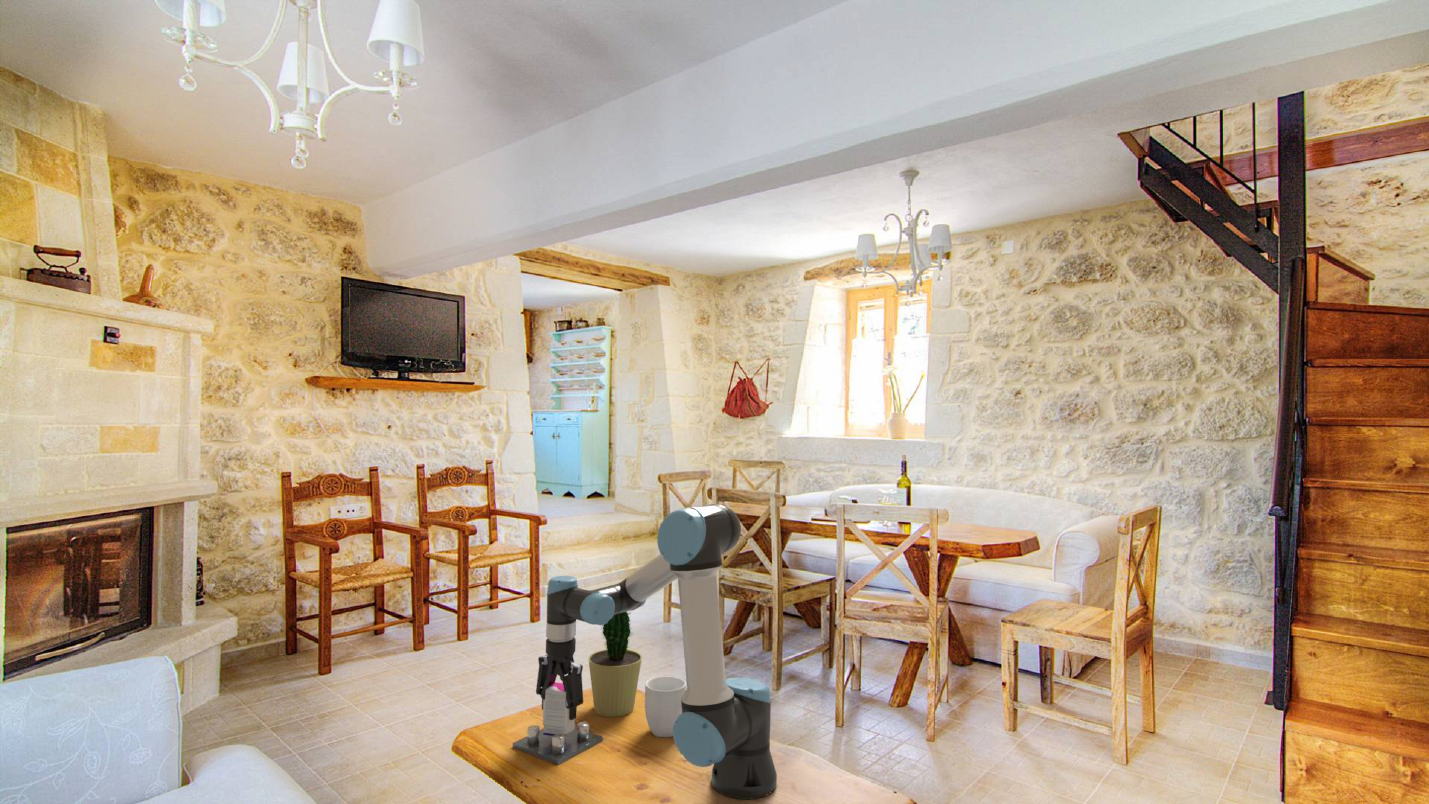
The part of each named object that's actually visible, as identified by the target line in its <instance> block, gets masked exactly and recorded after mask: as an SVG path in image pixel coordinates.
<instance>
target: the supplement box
mask: <svg viewBox="0 0 1429 804" xmlns="http://www.w3.org/2000/svg"><path fill="white" fill-rule="evenodd" d="M572 701H573V700H572ZM566 706H568V703H567V699H566V692H565V690H564V686H563V682H556V681H555V683H554V684H552V685H551V686H550V687H549V688H547V689H546V693H545V713H544V725H543V728H544V731H543V735H547V736H554V735H556V734H562V735H564V736H565V735H566V733H565V707H566Z"/></svg>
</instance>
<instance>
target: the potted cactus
mask: <svg viewBox="0 0 1429 804" xmlns="http://www.w3.org/2000/svg"><path fill="white" fill-rule="evenodd" d="M630 614H632V612H631V611H630V612H629V611H626V612H623V613H620V614H616V615H613V617H612V618H611V619H610V620H609V621H608V623H606V624H604V625H599V626H600V627H601V628H602V629H601V632H600V633H601V634H600V635H602V639H604V642H603V644H604V648H606V649H602V650H598V651H595V652H593V653H591V654H590V655H588V658H587V661H588V666H589V675H590V683H591V692H592V701H593V702H592V703H593V708H594V709H593V710H594V713H596V714H598V715H600V716H602V717H607V718H610V717H611V718H615V717H617V718H618V717H623V716H627V715H628V714H631V713H632V712H633V711H634V709H635V702H636V697H637V689H638V683H639V676H640V670H641V666H642V658H643V657H642V654H641V653H639V652H638V651H635V650H630V646H629V641H630V637H632V635H634V633H633V632H632V631H631V630H633V628H632V627H631V623H630V622H631V621H633V620H632V619H631V618H630V616H629V615H630ZM600 627H599V628H600Z"/></svg>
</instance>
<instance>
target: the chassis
mask: <svg viewBox="0 0 1429 804" xmlns="http://www.w3.org/2000/svg"><path fill="white" fill-rule="evenodd" d="M576 725H577V726H575V727H574V730H573V731H571V732H569V733H567V734H566V735H565V736H564V735H562V734H556V735H554V736H547V735H543V731H544V727H543V728H541V727H540V725H537V724H533V725H532V724H531V725H530V726H528V727H527V731H526V732H527V735H526V736H525V737H522V738H520V739H519V740H517V741H513V742H512V748H514V749H516V750H518V751H521V752H524V753H525V754H526V753H527V754H529V755H531V756H534V757H536V758H539V759H541V760H544V761H547V762H549V763H552V764H554V765H557V766H558V765H560V764H562V763H564V762H566V761H568V760H569V759H572V758H573V757H575V756H577V755H579V754H581V753H583V752H584V751H586V750H588V749H590V748H591V747H593V746H595V745H597V744H600V743H601V742H602V741H603V739H604V737H603V736H602V735H599V734H596V733H593V732H590V723H589V722H587V721H581V722H578V723H577V724H576Z"/></svg>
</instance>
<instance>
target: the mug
mask: <svg viewBox="0 0 1429 804" xmlns="http://www.w3.org/2000/svg"><path fill="white" fill-rule="evenodd" d="M644 685H645V687H644V688H645V689H644V690H645V691H644V709H645V710H644V713H645V718H646V722H647V725H648V728H649V730H650V731H651V733H652V734H653V735H654V736H656V737H658V738H673V725H674V722H675V721H676V720H677V718H678V716H679V715H680V714H682V704H681V696H682V695H683V694H684V693H685V691H686V690H687V681H685V680H684V679H682V678H680V677H675V676H669V675H667V676H665V675H664V676H655V677H652V678H650V679H648V680H647V681H645V684H644Z"/></svg>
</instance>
